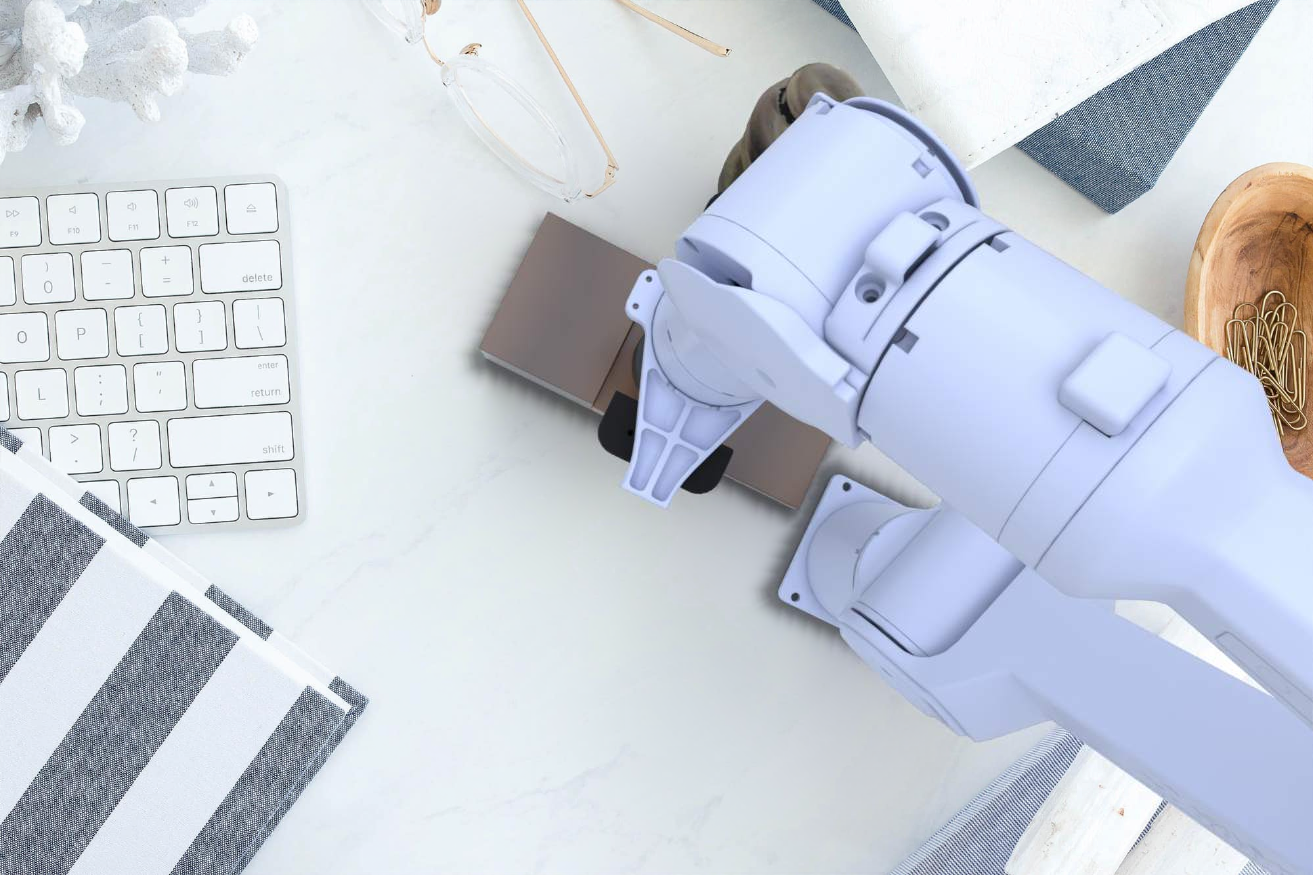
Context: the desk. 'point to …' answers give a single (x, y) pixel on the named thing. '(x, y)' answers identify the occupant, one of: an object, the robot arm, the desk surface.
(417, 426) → the desk surface
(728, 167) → the brown carved figurine
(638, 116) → the desk surface
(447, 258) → the desk surface
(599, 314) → the steps
